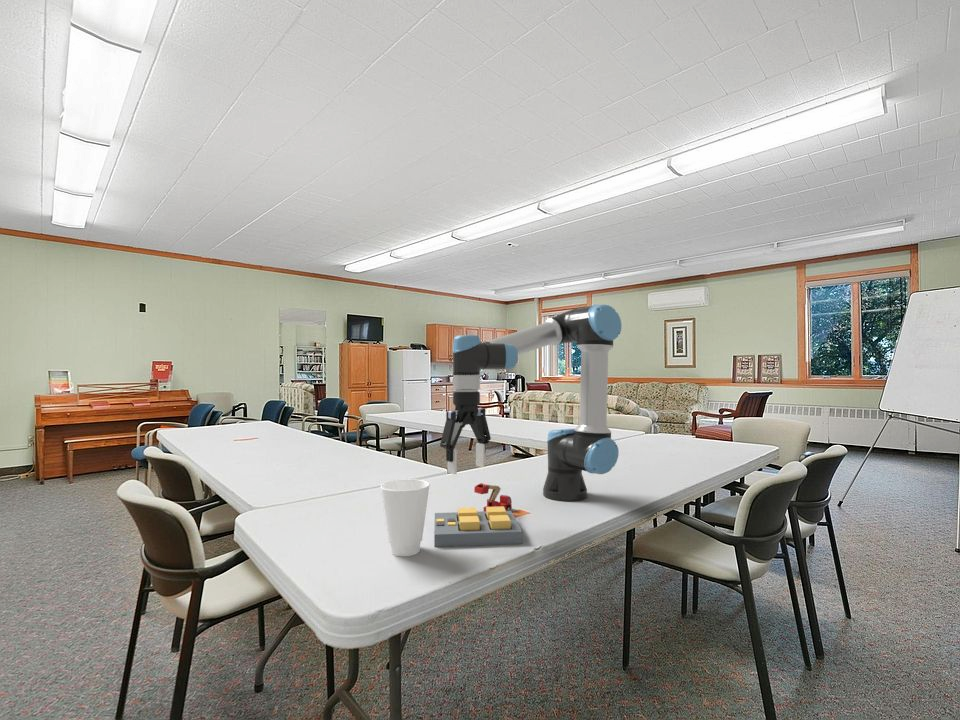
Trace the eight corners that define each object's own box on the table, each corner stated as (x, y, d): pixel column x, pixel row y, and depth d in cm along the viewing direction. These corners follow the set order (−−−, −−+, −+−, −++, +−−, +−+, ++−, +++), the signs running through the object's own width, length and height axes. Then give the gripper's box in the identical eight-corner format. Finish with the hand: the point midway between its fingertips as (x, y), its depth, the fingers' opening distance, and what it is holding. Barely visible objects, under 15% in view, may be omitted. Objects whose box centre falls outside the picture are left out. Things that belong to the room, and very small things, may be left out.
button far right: (475, 518, 135) (475, 507, 135) (477, 524, 130) (477, 512, 130) (457, 519, 135) (457, 507, 135) (458, 524, 130) (458, 513, 130)
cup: (386, 564, 108) (386, 493, 109) (375, 546, 119) (375, 481, 119) (436, 555, 113) (436, 487, 113) (421, 539, 124) (421, 477, 124)
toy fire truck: (513, 510, 150) (512, 478, 150) (482, 519, 140) (481, 486, 140) (505, 507, 152) (505, 477, 152) (474, 517, 143) (473, 484, 143)
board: (511, 521, 139) (511, 509, 139) (522, 543, 121) (522, 530, 121) (434, 523, 137) (434, 511, 137) (434, 546, 119) (434, 533, 119)
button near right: (478, 527, 127) (478, 515, 127) (479, 534, 122) (479, 521, 122) (459, 528, 127) (459, 516, 127) (460, 535, 122) (460, 522, 122)
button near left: (507, 526, 128) (507, 514, 128) (510, 533, 123) (510, 520, 123) (489, 527, 128) (489, 515, 128) (491, 533, 123) (491, 521, 123)
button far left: (503, 517, 136) (503, 506, 136) (506, 523, 131) (506, 511, 131) (486, 518, 135) (486, 506, 136) (488, 523, 130) (488, 512, 131)
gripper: (483, 389, 145) (483, 461, 144) (426, 391, 127) (426, 475, 126) (502, 389, 140) (503, 464, 139) (446, 392, 122) (447, 479, 122)
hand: (466, 469), depth 133 cm, fingers open, 11 cm apart
